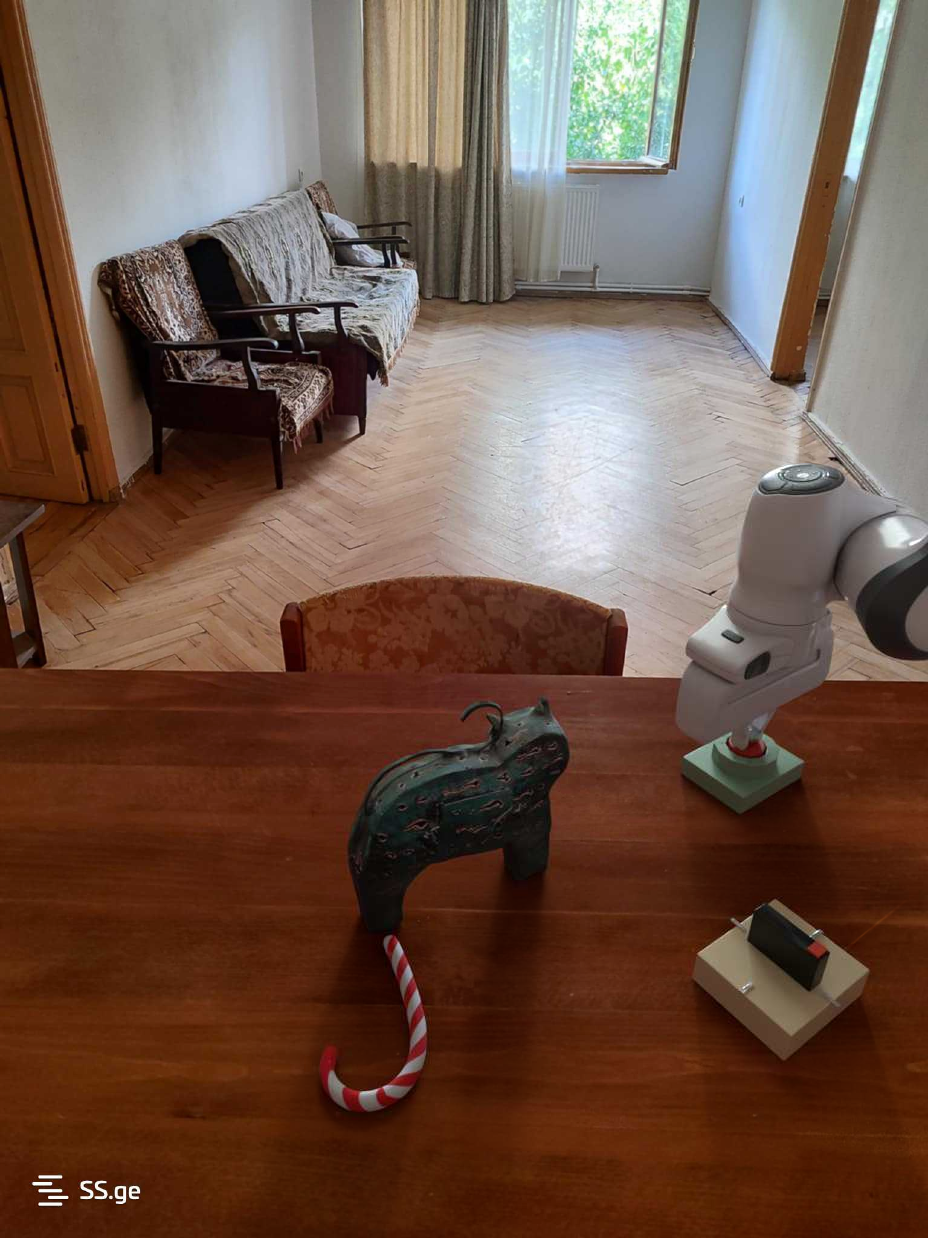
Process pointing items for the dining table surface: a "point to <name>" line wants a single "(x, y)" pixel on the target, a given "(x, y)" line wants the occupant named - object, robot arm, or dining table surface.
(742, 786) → the button box
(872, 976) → the dining table surface
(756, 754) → the red button
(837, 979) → the battery holder base
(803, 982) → the black battery pack
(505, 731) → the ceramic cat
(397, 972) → the candy cane
